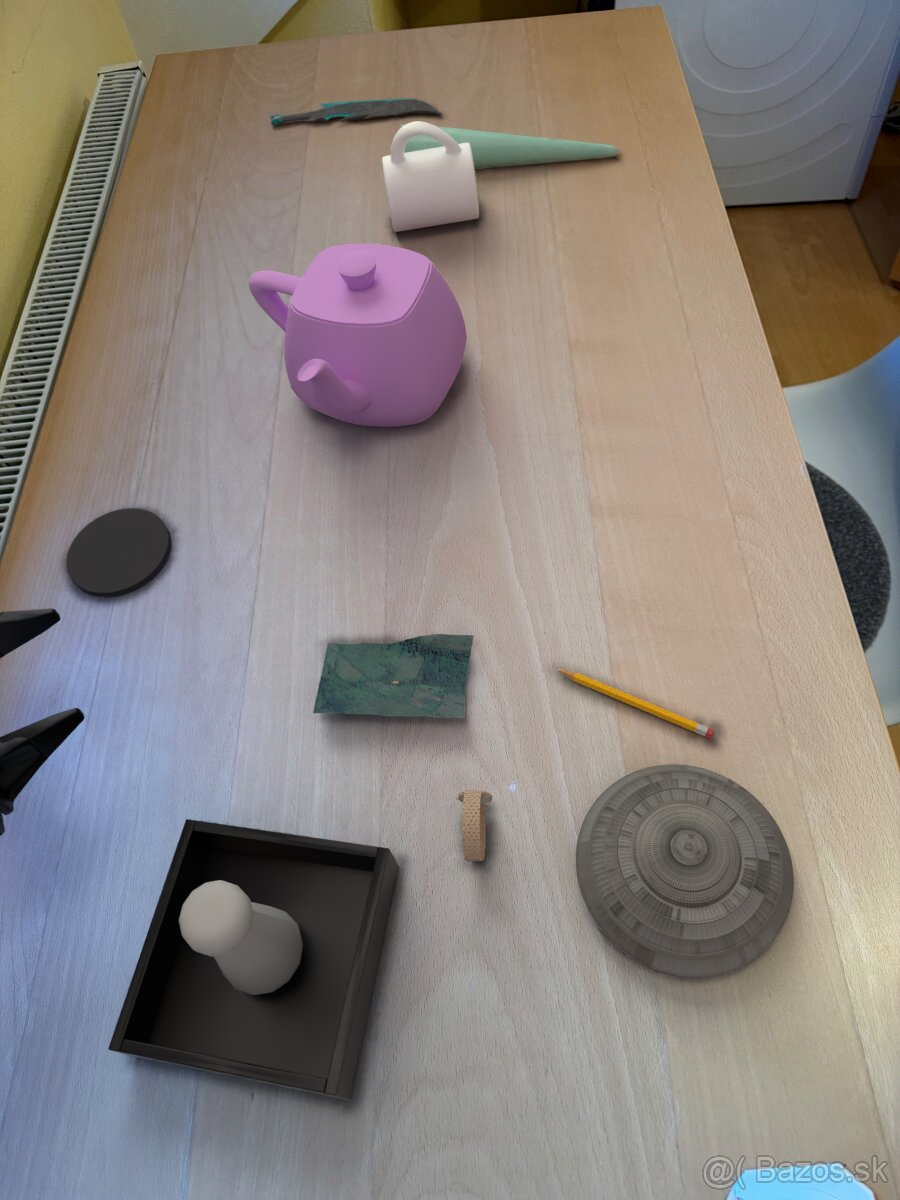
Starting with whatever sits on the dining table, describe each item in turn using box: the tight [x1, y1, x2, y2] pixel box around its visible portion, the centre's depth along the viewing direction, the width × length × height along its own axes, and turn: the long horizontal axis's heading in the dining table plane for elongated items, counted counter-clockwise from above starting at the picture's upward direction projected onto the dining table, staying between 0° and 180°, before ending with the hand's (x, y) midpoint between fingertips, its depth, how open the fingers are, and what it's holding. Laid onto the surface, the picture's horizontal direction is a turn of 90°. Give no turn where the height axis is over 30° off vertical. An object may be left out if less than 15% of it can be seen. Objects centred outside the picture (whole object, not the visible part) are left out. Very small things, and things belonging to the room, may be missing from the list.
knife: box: [269, 98, 443, 127], centre depth 125 cm, size 24×1×5 cm
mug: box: [381, 120, 480, 233], centre depth 105 cm, size 8×10×12 cm
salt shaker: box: [179, 880, 303, 995], centre depth 59 cm, size 6×6×13 cm
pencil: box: [556, 668, 715, 739], centre depth 72 cm, size 1×13×1 cm, turn 61°
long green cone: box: [400, 123, 619, 170], centre depth 112 cm, size 5×6×27 cm
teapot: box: [248, 243, 468, 427], centre depth 88 cm, size 23×21×15 cm
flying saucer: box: [575, 764, 795, 978], centre depth 63 cm, size 15×15×6 cm
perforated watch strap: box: [455, 789, 493, 862], centre depth 66 cm, size 3×5×5 cm, turn 178°
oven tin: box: [108, 818, 400, 1102], centre depth 63 cm, size 16×16×4 cm
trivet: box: [66, 507, 172, 598], centre depth 87 cm, size 10×10×1 cm
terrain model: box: [312, 633, 474, 719], centre depth 75 cm, size 13×8×2 cm, turn 86°
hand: (69, 661), depth 63 cm, fingers open, 9 cm apart
